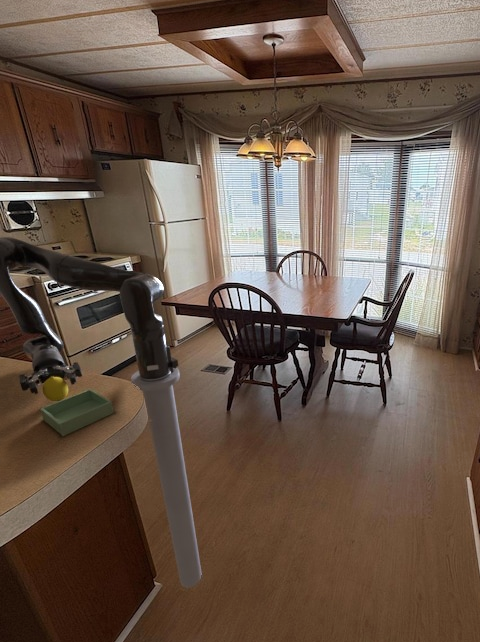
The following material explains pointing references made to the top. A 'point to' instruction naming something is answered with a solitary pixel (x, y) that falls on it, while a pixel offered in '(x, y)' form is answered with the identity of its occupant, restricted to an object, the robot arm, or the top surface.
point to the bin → (76, 411)
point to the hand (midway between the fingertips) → (54, 386)
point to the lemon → (55, 389)
